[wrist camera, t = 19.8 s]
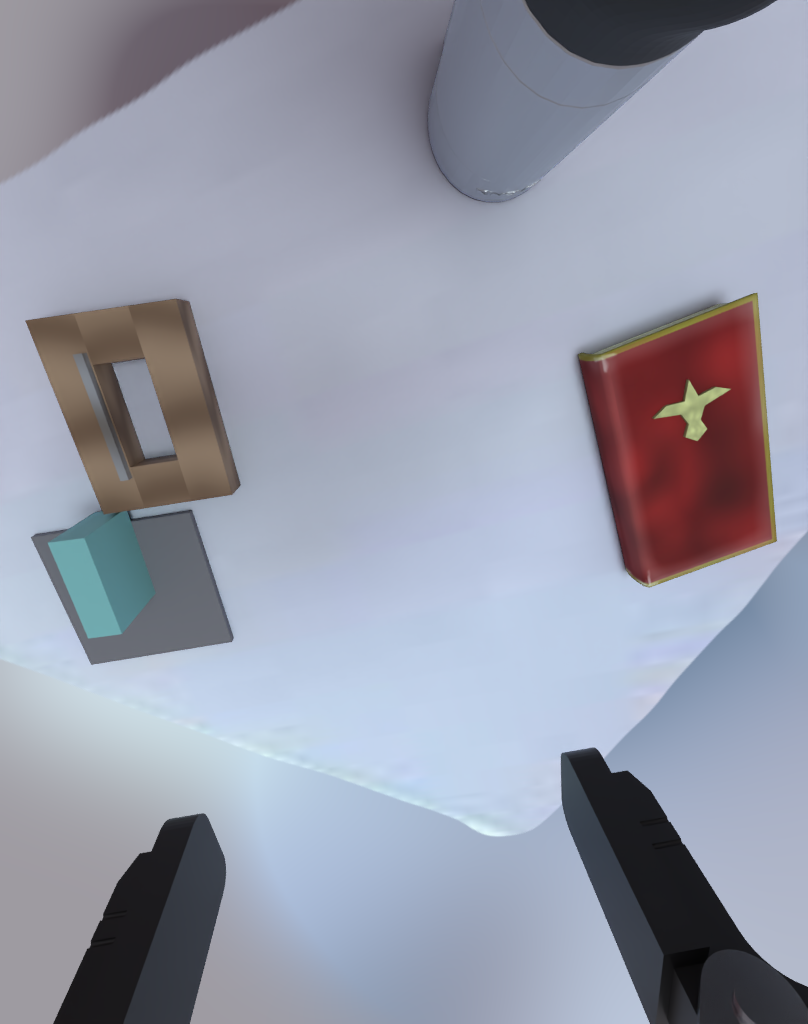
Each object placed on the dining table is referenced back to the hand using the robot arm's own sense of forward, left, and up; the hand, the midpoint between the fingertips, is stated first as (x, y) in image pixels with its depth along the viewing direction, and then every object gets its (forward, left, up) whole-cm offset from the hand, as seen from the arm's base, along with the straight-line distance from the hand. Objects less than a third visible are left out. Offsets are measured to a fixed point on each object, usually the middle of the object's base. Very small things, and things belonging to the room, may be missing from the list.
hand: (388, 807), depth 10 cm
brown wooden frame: (-7, -16, -30) cm, 35 cm away
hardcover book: (+3, +26, -31) cm, 40 cm away
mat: (+8, -22, -30) cm, 38 cm away
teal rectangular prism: (+8, -22, -26) cm, 35 cm away
